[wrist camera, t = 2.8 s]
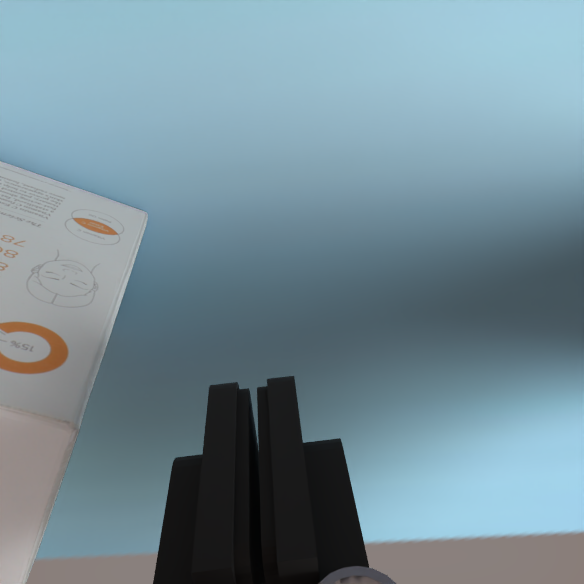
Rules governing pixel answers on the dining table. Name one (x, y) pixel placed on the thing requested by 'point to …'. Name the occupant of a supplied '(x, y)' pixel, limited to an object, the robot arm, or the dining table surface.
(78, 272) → the small box
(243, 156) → the dining table surface
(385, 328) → the dining table surface
